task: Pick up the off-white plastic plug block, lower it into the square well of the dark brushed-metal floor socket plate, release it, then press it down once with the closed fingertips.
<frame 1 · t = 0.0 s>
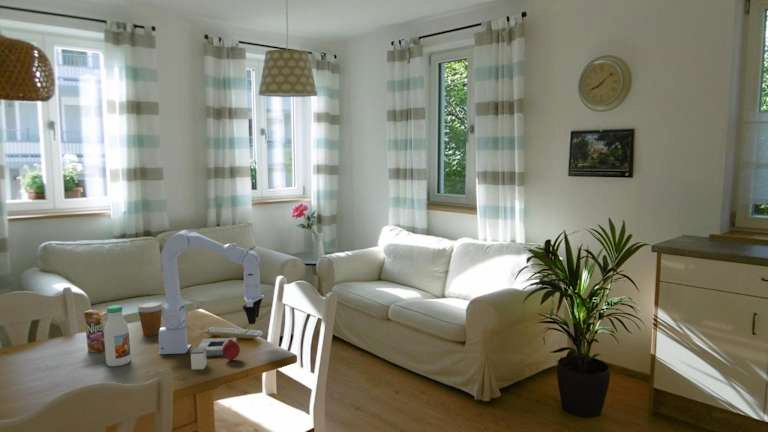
hand: (253, 320, 205), 10 cm above the table, fingers open, 7 cm apart
onion: (231, 361, 193), on the table
plug: (199, 367, 188), on the table
candy box: (100, 352, 204), on the table
socket plate: (216, 350, 203), on the table
disposable coffee cup: (151, 333, 224), on the table
milk bottle: (118, 363, 193), on the table
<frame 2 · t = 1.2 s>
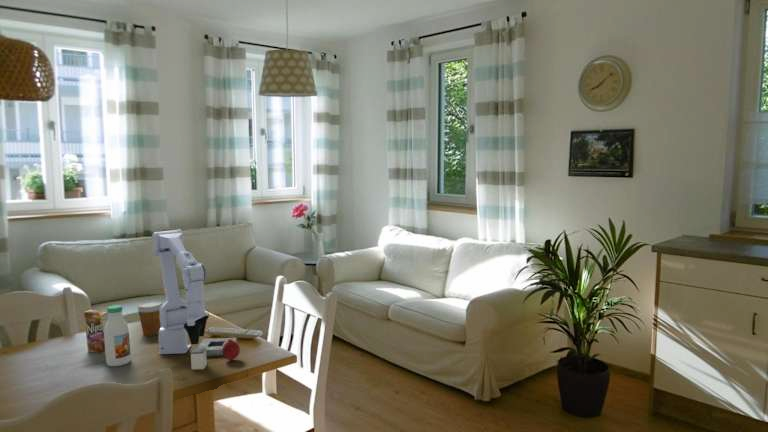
hand: (197, 340, 187), 9 cm above the table, fingers open, 7 cm apart
nothing on the table moved.
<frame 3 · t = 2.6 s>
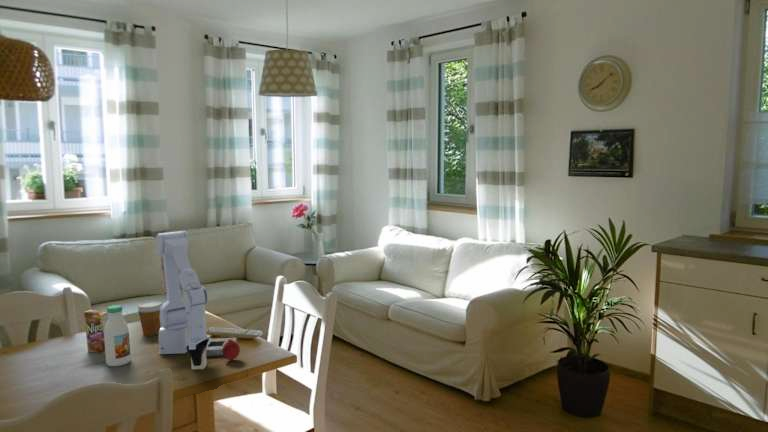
hand: (199, 362, 188), 1 cm above the table, fingers closed on plug, 4 cm apart
plug: (199, 366, 188), on the table, touching gripper
everything else where it was.
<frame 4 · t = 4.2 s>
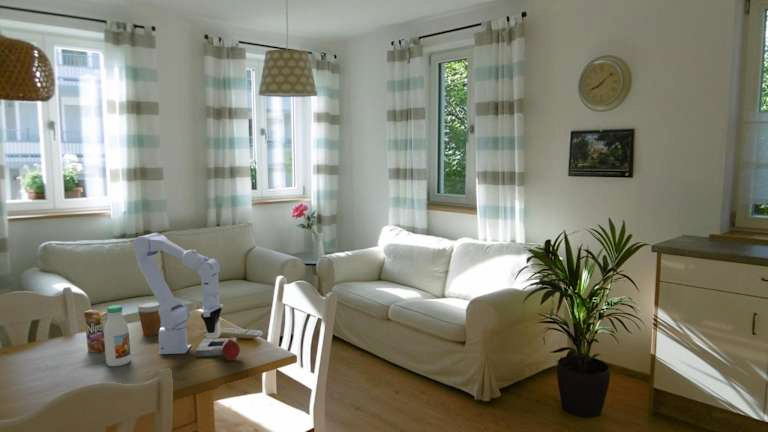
hand: (212, 330, 200), 8 cm above the table, fingers closed on plug, 4 cm apart
plug: (213, 336, 200), point 6 cm above the table, touching gripper
everything else where it was.
when the fingers open (3 cm above the table, at t = 5.7 s): plug stays where it is, resting on socket plate.
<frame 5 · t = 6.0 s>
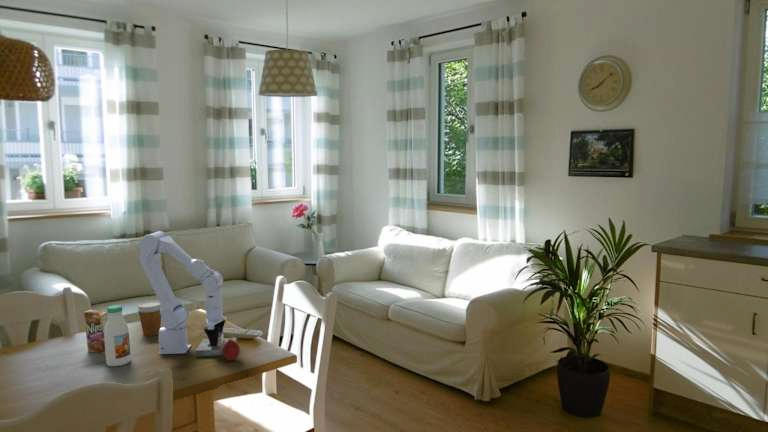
hand: (216, 342, 203), 3 cm above the table, fingers open, 6 cm apart
plug: (217, 349, 203), resting on socket plate
everything else where it was.
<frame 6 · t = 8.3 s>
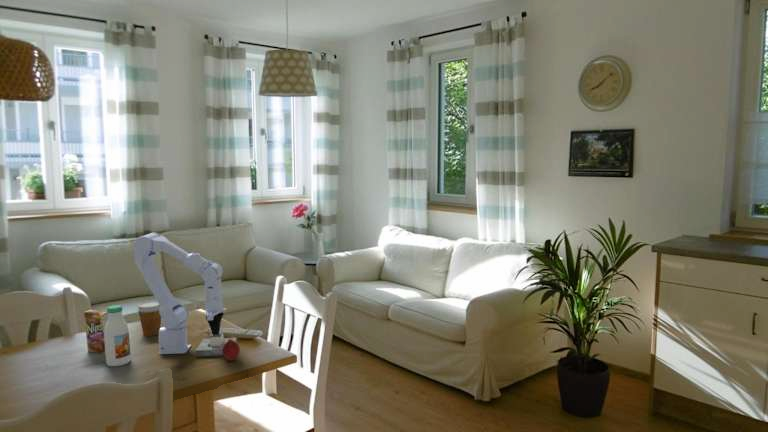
hand: (215, 333, 202), 6 cm above the table, fingers closed
nothing on the table moved.
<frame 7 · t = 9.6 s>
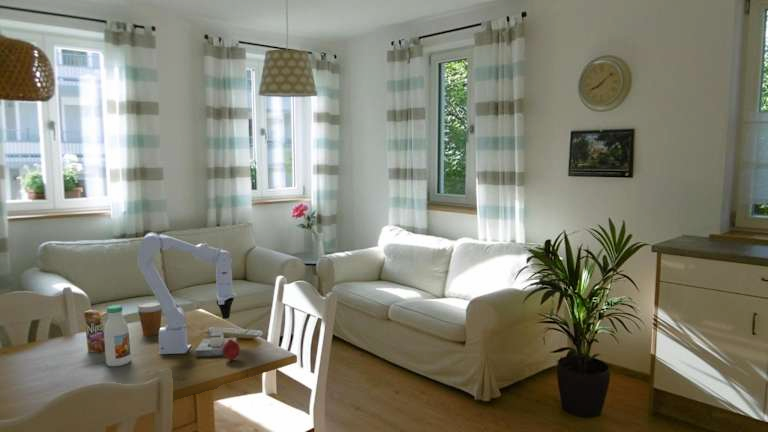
hand: (226, 318, 209), 10 cm above the table, fingers closed
nothing on the table moved.
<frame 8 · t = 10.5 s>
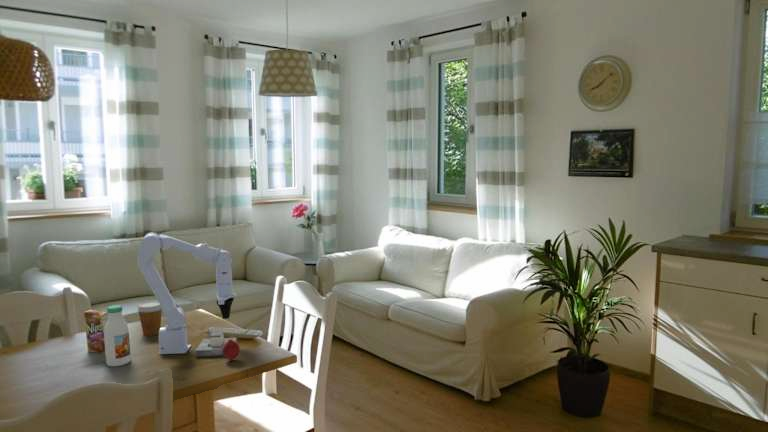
hand: (226, 318, 209), 10 cm above the table, fingers closed
nothing on the table moved.
at the end: plug 0.2 cm off-centre on the socket plate, point 0.3 cm above the socket plate's base; plug tilted 0°; the gripper is holding nothing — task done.
